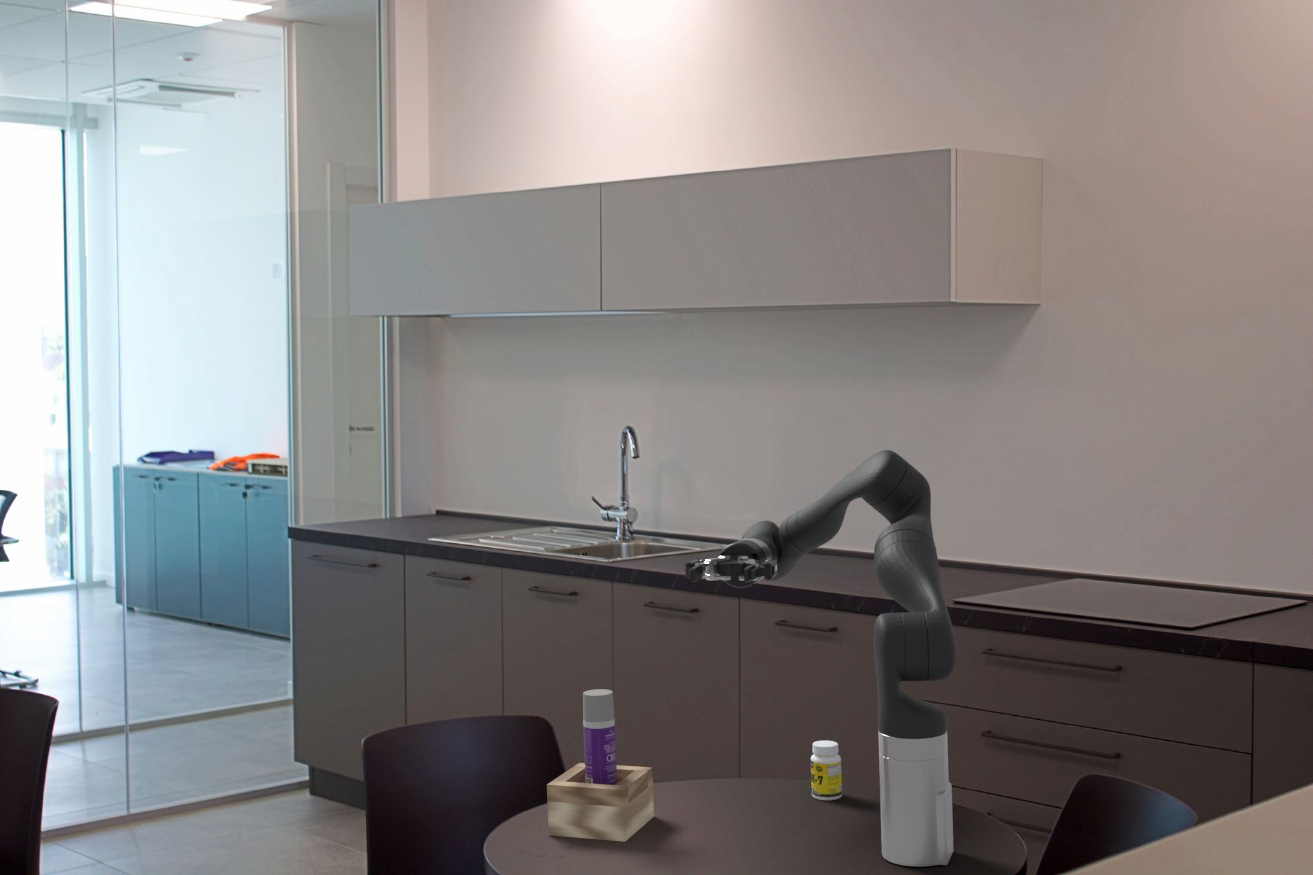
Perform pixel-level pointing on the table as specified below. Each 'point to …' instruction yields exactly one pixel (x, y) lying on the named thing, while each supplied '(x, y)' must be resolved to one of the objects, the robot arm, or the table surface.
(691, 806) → the table surface
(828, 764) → the supplement bottle
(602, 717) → the container
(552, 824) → the wooden open tray
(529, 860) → the table surface
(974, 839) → the table surface
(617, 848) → the table surface
